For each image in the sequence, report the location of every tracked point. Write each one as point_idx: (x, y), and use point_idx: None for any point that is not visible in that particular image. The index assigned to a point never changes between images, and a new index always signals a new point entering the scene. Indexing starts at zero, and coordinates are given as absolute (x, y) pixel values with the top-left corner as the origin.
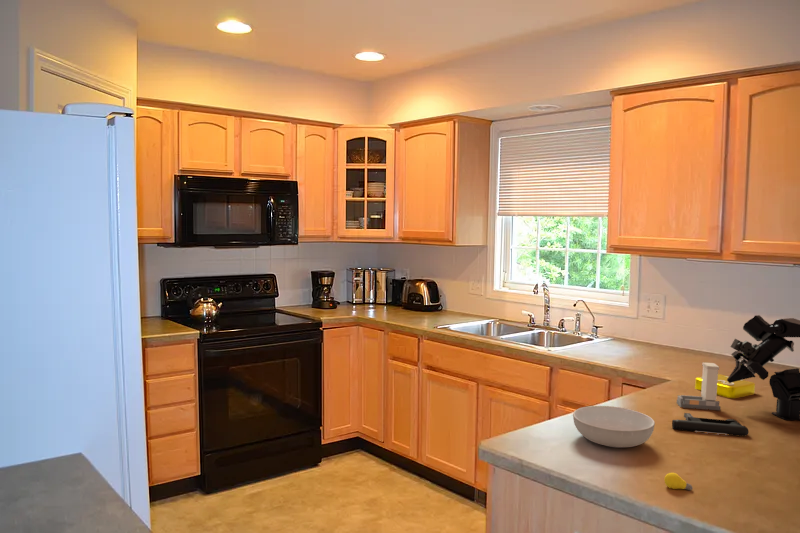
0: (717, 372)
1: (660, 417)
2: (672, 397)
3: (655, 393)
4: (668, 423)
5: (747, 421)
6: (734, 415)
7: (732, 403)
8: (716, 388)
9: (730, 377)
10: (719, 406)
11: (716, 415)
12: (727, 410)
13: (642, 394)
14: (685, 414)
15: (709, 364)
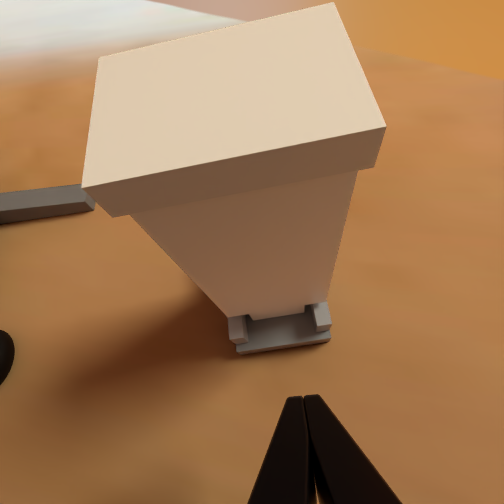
0: (145, 223)
1: (74, 129)
2: (391, 156)
3: (423, 98)
4: (14, 150)
5: (65, 473)
6: (165, 420)
7: (471, 482)
8: (207, 291)
9: (276, 434)
10: (240, 346)
11: (141, 319)
12: (258, 399)
13: (369, 64)
14: (65, 186)
15: (218, 73)
